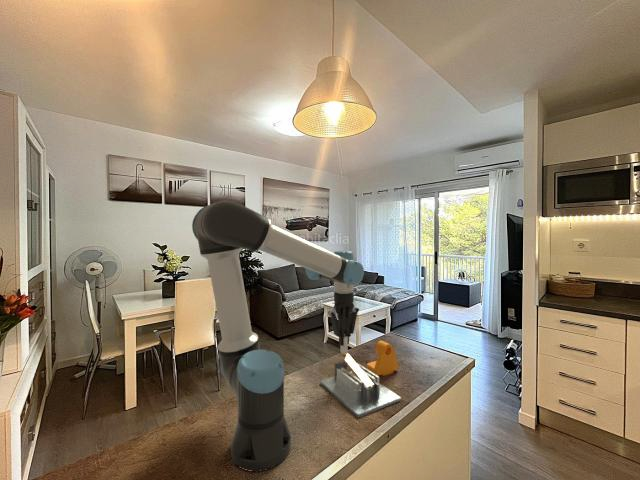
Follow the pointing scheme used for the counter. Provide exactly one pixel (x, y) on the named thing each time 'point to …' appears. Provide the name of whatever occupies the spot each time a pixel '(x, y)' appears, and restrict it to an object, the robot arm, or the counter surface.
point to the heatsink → (358, 391)
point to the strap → (358, 371)
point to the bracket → (383, 360)
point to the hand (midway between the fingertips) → (344, 352)
